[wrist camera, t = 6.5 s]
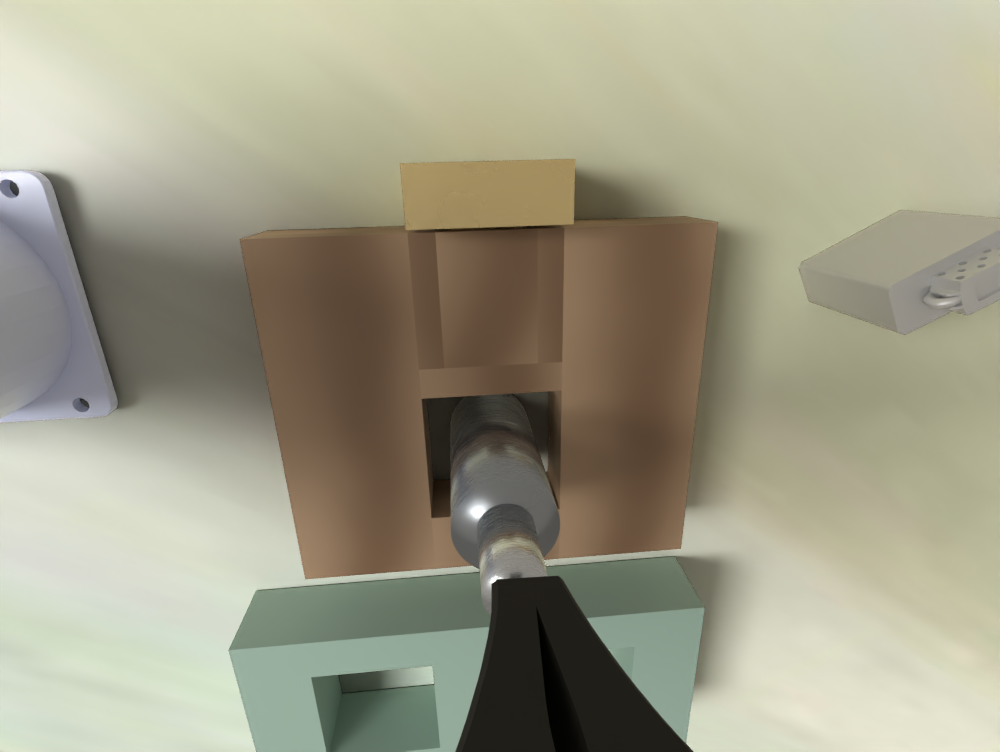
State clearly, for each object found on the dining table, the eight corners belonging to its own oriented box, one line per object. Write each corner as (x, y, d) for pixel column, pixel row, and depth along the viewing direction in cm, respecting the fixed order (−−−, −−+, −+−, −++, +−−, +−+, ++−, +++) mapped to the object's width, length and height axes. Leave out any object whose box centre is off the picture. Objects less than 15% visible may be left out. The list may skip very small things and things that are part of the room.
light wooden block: (424, 332, 19) (417, 371, 15) (410, 165, 17) (400, 163, 13) (547, 326, 19) (570, 363, 16) (548, 162, 17) (575, 158, 14)
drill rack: (288, 725, 25) (267, 794, 22) (256, 590, 22) (228, 650, 20) (660, 688, 27) (685, 748, 24) (674, 556, 24) (704, 607, 21)
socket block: (320, 535, 22) (305, 579, 19) (267, 230, 17) (239, 239, 15) (657, 510, 23) (681, 548, 20) (684, 216, 19) (717, 222, 16)
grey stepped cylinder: (452, 461, 21) (454, 651, 13) (447, 390, 20) (447, 546, 12) (528, 456, 21) (579, 639, 13) (527, 386, 20) (583, 536, 12)
